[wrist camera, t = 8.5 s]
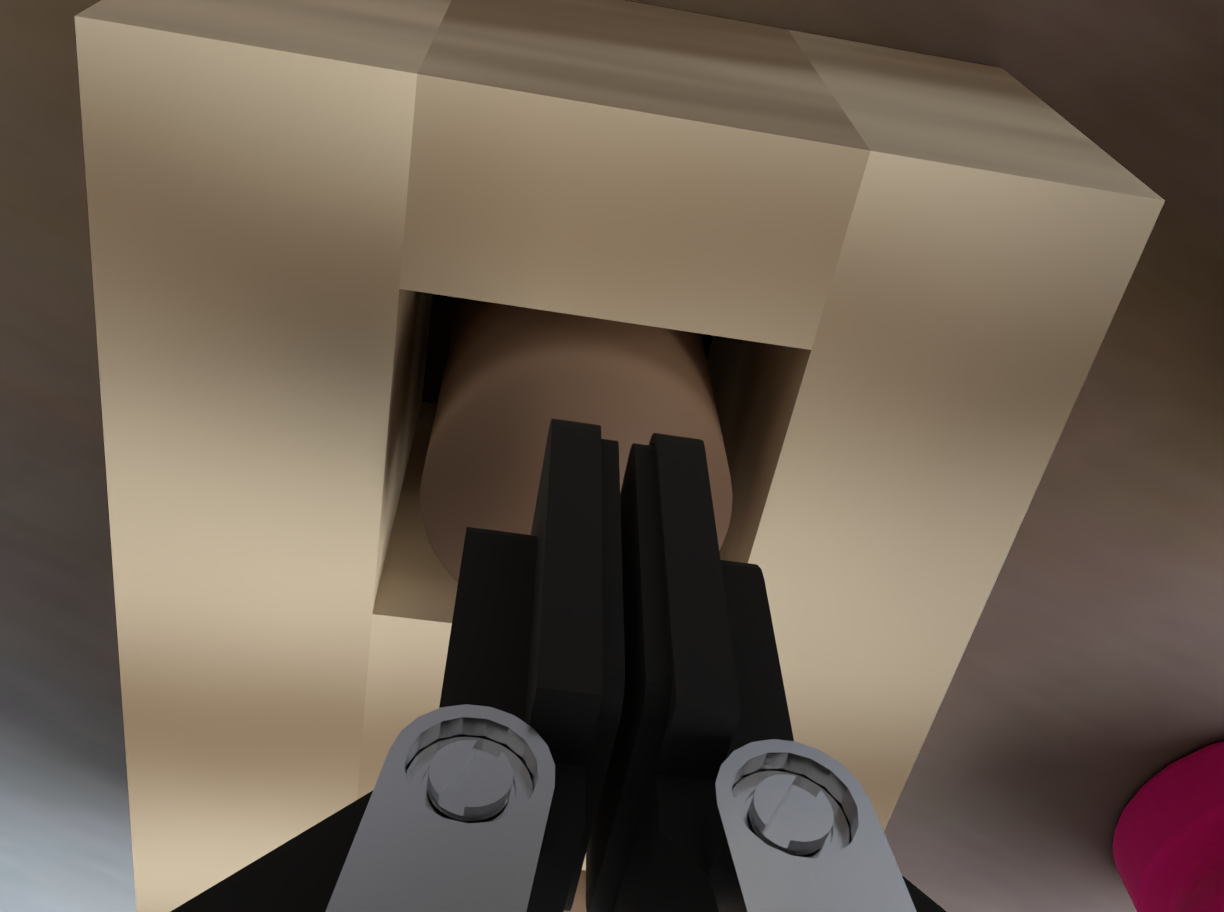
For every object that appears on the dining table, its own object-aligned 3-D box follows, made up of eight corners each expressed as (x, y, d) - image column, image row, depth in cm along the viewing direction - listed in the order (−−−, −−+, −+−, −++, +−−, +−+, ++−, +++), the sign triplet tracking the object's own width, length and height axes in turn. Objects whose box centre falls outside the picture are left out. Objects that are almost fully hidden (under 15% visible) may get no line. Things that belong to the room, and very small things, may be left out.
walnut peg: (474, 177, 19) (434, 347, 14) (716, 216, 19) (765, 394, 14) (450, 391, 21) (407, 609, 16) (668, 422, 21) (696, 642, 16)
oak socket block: (225, -72, 17) (74, 16, 12) (1002, 68, 18) (1165, 199, 13) (228, 833, 27) (149, 1085, 22) (721, 880, 29) (752, 1128, 24)
